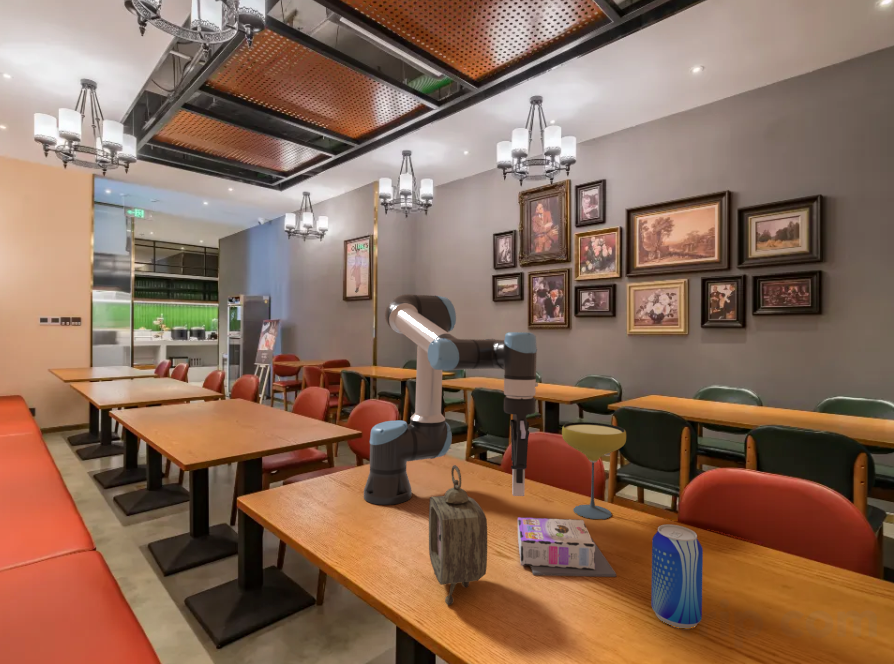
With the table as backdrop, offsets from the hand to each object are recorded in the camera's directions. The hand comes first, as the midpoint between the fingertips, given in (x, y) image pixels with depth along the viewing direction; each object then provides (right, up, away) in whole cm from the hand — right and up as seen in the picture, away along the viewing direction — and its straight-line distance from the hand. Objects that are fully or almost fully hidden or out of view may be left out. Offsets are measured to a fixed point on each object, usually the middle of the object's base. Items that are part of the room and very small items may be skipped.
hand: (518, 494), depth 109 cm
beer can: (+26, -14, -24) cm, 38 cm away
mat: (+11, -14, 0) cm, 18 cm away
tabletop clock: (-15, -14, -16) cm, 26 cm away
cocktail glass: (+26, -15, +26) cm, 39 cm away
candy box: (0, -11, 0) cm, 11 cm away
